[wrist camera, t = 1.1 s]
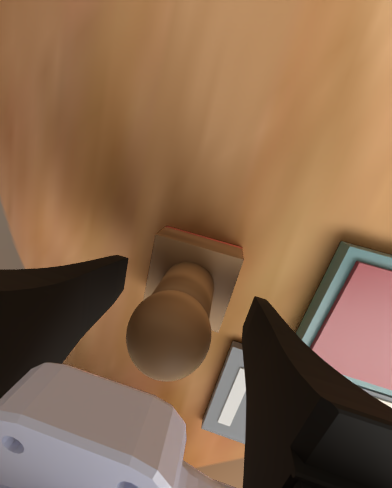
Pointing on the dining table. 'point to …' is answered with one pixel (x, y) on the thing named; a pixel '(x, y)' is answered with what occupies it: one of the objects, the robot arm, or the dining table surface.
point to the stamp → (181, 303)
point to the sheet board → (240, 398)
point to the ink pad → (354, 317)
